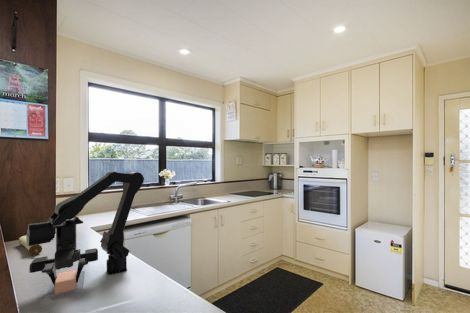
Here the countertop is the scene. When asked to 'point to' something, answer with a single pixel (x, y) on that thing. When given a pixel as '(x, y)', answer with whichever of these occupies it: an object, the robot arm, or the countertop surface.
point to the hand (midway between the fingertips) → (66, 284)
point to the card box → (65, 281)
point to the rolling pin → (32, 249)
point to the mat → (78, 287)
